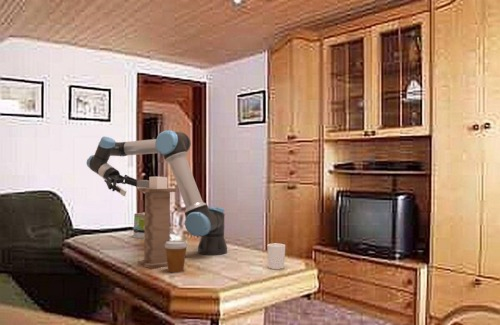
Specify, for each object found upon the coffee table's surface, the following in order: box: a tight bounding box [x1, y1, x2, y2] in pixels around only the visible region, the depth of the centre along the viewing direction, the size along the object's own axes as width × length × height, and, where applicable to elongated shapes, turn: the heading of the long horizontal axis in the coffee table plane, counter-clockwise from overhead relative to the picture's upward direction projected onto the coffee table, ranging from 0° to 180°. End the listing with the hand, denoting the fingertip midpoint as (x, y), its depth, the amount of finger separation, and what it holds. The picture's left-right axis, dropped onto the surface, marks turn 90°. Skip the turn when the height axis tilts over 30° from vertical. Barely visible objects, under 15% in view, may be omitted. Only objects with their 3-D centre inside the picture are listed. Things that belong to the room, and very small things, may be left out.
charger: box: [136, 176, 168, 189], centre depth 207 cm, size 20×5×5 cm, turn 41°
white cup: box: [266, 242, 286, 270], centre depth 200 cm, size 8×8×10 cm
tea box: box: [133, 211, 145, 240], centre depth 280 cm, size 15×10×15 cm, turn 159°
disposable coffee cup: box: [165, 240, 188, 273], centre depth 192 cm, size 10×10×12 cm
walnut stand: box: [137, 187, 177, 270], centre depth 203 cm, size 12×12×34 cm
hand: (135, 192), depth 226 cm, fingers open, 13 cm apart
